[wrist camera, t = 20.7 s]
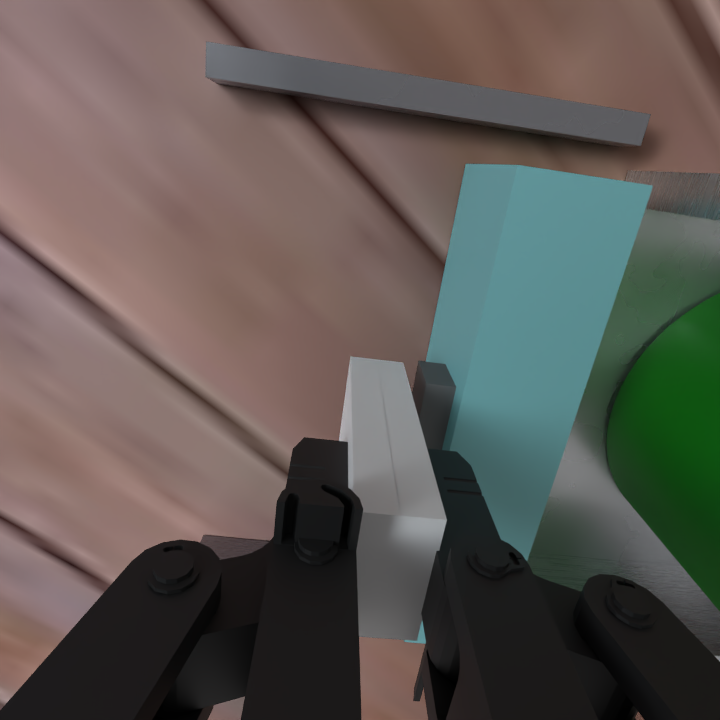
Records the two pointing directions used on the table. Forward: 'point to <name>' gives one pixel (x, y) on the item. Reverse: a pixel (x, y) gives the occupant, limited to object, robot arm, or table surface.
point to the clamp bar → (522, 327)
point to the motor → (675, 442)
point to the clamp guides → (413, 99)
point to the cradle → (611, 366)
